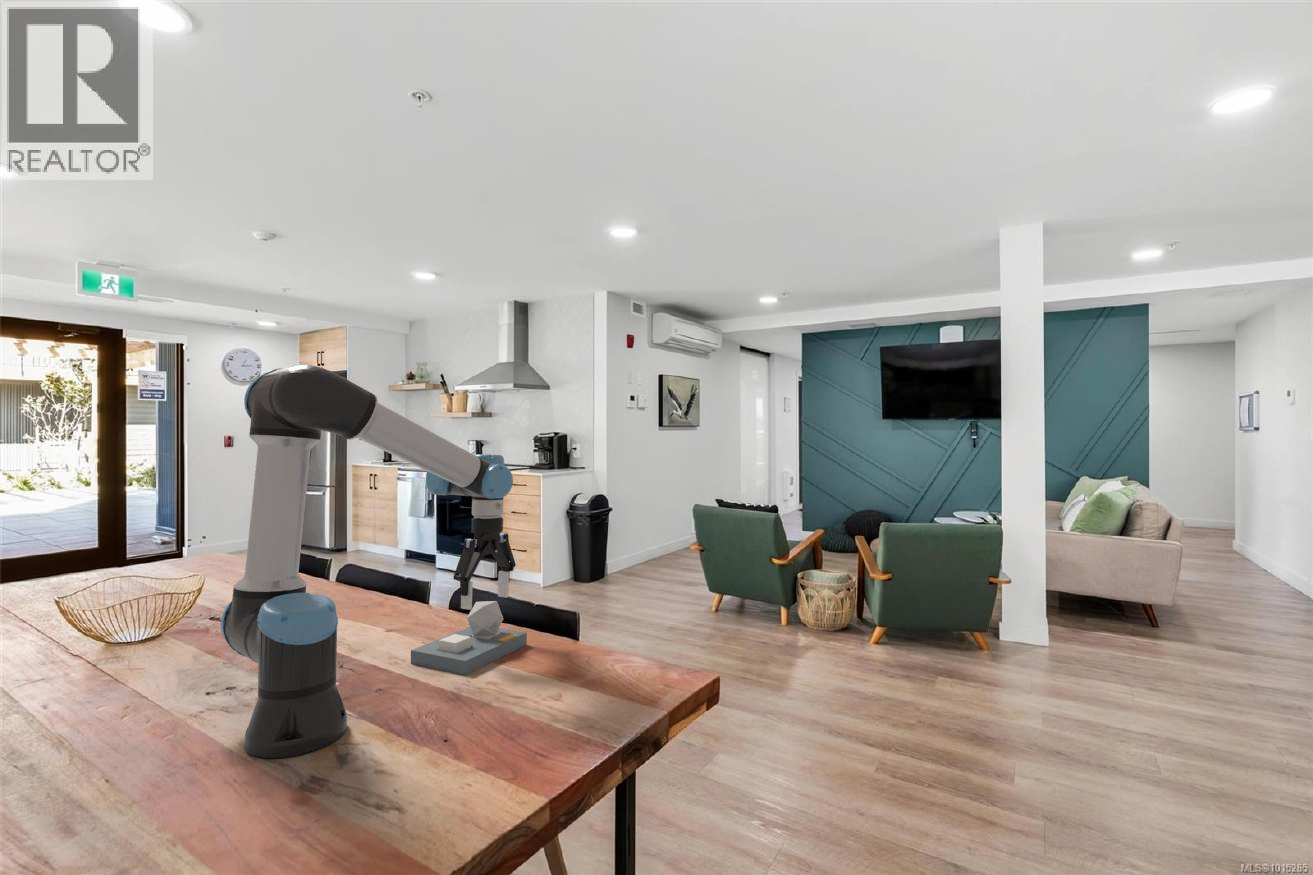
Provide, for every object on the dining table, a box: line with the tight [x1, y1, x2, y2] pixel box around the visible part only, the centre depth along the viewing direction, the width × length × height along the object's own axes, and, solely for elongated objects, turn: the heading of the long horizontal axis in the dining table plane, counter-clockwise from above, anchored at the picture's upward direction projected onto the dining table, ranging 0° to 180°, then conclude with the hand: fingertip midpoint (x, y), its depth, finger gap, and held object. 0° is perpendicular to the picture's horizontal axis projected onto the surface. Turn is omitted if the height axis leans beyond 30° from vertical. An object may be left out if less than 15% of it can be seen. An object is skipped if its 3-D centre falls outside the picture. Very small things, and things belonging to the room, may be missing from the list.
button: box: [439, 633, 471, 654], centre depth 142 cm, size 5×5×3 cm
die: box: [466, 600, 504, 636], centre depth 152 cm, size 8×9×10 cm
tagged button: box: [472, 632, 501, 640], centre depth 152 cm, size 5×5×3 cm
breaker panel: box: [410, 626, 528, 676], centre depth 147 cm, size 22×16×3 cm
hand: (485, 602), depth 152 cm, fingers open, 13 cm apart
